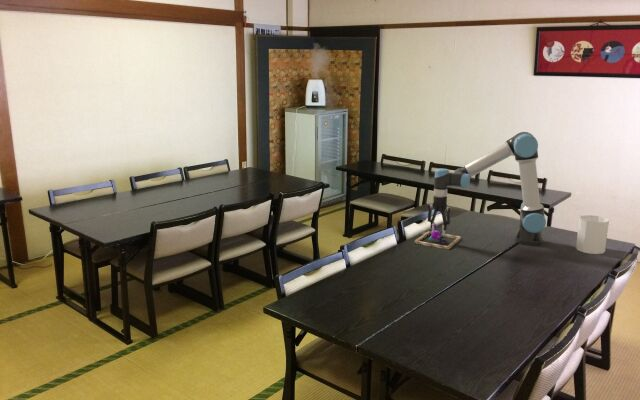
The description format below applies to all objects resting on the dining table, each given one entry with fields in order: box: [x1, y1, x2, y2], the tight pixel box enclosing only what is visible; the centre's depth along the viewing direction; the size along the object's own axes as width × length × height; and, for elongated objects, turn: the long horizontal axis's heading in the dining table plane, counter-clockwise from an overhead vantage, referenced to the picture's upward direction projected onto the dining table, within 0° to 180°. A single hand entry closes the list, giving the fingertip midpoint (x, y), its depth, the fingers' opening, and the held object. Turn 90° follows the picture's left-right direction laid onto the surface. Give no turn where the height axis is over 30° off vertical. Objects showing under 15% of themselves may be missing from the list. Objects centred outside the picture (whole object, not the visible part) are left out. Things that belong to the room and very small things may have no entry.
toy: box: [428, 223, 446, 245], centre depth 309 cm, size 12×10×15 cm
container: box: [575, 214, 610, 255], centre depth 295 cm, size 14×14×18 cm
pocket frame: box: [413, 230, 462, 250], centre depth 312 cm, size 23×22×2 cm
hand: (438, 234), depth 311 cm, fingers closed on toy, 5 cm apart
